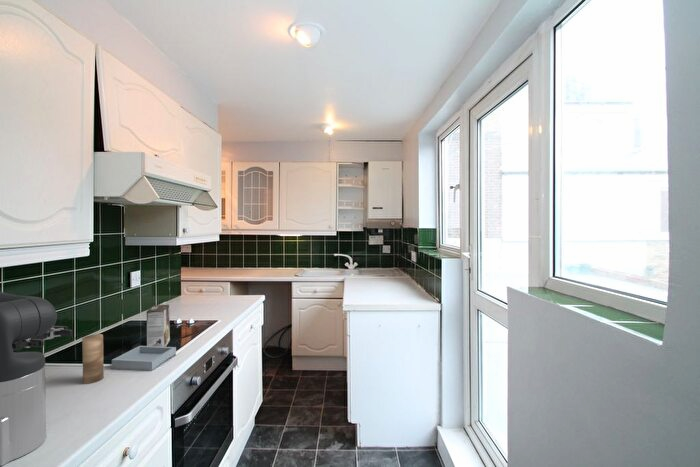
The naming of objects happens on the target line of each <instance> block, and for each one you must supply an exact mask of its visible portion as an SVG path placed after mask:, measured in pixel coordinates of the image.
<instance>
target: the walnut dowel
mask: <svg viewBox="0 0 700 467" xmlns="http://www.w3.org/2000/svg"><path fill="white" fill-rule="evenodd" d="M81 341H82V343H81V346H82V383H83V385H90V384H94V383H97V382H100V381H102V380H103V379H104V378H105V376H104V375H105V373H104V335H103V334H101V333H100V334H99V333H97V334H90V335H87V336H84V337H83V338H82V339H81Z"/></svg>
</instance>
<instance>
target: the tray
mask: <svg viewBox="0 0 700 467" xmlns="http://www.w3.org/2000/svg"><path fill="white" fill-rule="evenodd" d="M176 356H177V347H176V346H166V347H158V346H147V345H138V346H136V347H134V348H133V349H130V350H129V351H126V352H124V353H122V354H121V355H119V356H117V357H115V358H113V359H111V369H112V370H122V371H123V370H125V371H143V372H144V371H146V372H152V371H154V370H156V369H157V368H159V367H161V366H162V365H164V364H165V363H166V362H168V361H169V360H171V359H173V358H174V357H176Z"/></svg>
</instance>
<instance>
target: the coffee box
mask: <svg viewBox="0 0 700 467" xmlns="http://www.w3.org/2000/svg"><path fill="white" fill-rule="evenodd" d="M170 331H171V330H170V304H156V305H155V304H153V305H152V306H150V307H149V309H147V311H146V346H158V347H168V344H169V343H170V341H171V336H170Z"/></svg>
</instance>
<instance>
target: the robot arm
mask: <svg viewBox="0 0 700 467" xmlns="http://www.w3.org/2000/svg"><path fill="white" fill-rule="evenodd" d="M57 313H58V312H57V309H56V308H55V307H54V306H53V304H52V303H51V302H49V300H47V299H45V298H42V297H39V296H30V295H18V294H12V293H11V294H10V293H8V292H3V291H0V466H1V467H3V466H4V465H7V463H9V462H11V461H14V460H16V459H18V458H21V457H23V456H25V455H27V454H30V453H31V452H33V451H34V450H36V449H37V448H38V447H40V446H41V445H42V444H43V443H44V442H45V441H46V439H47V406H46V405H47V400H46V395H47V394H46V357H45V354H44V353H43V352H40V351H21V350H23V348H26V349H30V348H42V347H45V341H46V340H52V339H54V338H55V337H56V338H57V337H64V338H65V337H66V338H67V337H68V338H70V337H73V335H74V334H73V329H68V326H67V325H56V322H57V319H58V314H57ZM48 334H49V336H48ZM15 351H17V352H15Z"/></svg>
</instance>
